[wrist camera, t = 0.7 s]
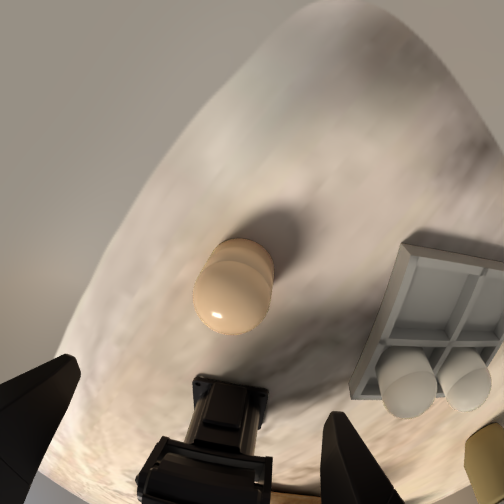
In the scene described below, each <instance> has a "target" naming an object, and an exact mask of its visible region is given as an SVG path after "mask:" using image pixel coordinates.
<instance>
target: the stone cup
mask: <svg viewBox="0 0 504 504" xmlns="http://www.w3.org/2000/svg"><path fill="white" fill-rule="evenodd" d="M270 504H321V497H315V496H306V495H297V494H288V493H279V492H271V499H270Z"/></svg>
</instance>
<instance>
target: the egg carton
mask: <svg viewBox="0 0 504 504" xmlns="http://www.w3.org/2000/svg"><path fill="white" fill-rule="evenodd" d="M503 341H504V263H503V262H498V261H493V260H488V259H483V258H478V257H473V256H468V255H463V254H458V253H453V252H447V251H442V250H436V249H431V248H425V247H420V246H414V245H408V244H403V243H401V245H400V248H399V252H398V255H397V258H396V262H395V265H394V268H393V271H392V275H391V278H390V281H389V284H388V287H387V290H386V293H385V296H384V298H383V301H382V304H381V307H380V310H379V312H378V315H377V318H376V320H375V323H374V325H373V328H372V331H371V333H370V336H369V338H368V340H367V343H366V345H365V348H364V350H363V352H362V355H361V357H360V359H359V362H358V364H357V366H356V368H355V371H354V373H353V375H352V377H351V379H350V381H349V390H350V397H351V400H382V397H381V393H380V388H379V384H378V380H377V376H376V372H375V366H376V364H377V362H378V360H379V358H380V356H381V354H382V353H383V352H384V351H385V350H386V349H388V348H389V347H391V346H417V347H422V348H423V350H424V353H425V355H426V357H427V359H428V361H429V364H430V366H431V368H432V371H433V373H434V375H435V378H436V381H437V394H436V397H435V398H438V397H445V395H444V392H443V390H442V387H441V385H440V382H439V380H438V378H437V375H436V374H437V372H438V371H439V369H440V367H441V366H442V364H443V362H444V361H445V359H446V357H447V356H448V354H449V352H450V350H451V349H452V348H453V347H475V348H476V350H477V352H478V353H479V355H480V357H481V358H482V360H483V362H484V363H485V365H486V367H488V365H489V364H490V362H491V361H492V359H493V357H494V356H495V354H496V353H497V351H498V349H499V348H500V346H501V344H502V343H503Z"/></svg>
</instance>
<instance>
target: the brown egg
mask: <svg viewBox="0 0 504 504" xmlns="http://www.w3.org/2000/svg"><path fill="white" fill-rule="evenodd" d="M273 278H274V264H273V261H272V258H271V256H270V255H269V253H268V252H267V251H266V250H265V249H264V248H263V247H262V246H261V245H259V244H258V243H256V242H254V241H251V240H248V239H241V238H236V239H230V240H227V241H225V242H222V243H221V244H219V245H218V246H217V247H216V248H215V249H214V250H213V252H212V254H211V255H210V257H209V259H208V260H207V262H206V264H205V265H204V267H203V269H202V271H201V272H200V274H199V276H198V277H197V279H196V282H195V284H194V289H193V304H194V307H195V310H196V313H197V315H198V316H199V318H200V319H201V321H202V322H203V323H204V324H205V325H206V326H207V327H209V328H210V329H212V330H214V331H216V332H218V333H221V334H225V335H239V334H243V333H246V332H248V331H251V330H252V329H254V328H255V327H257V326H258V325H259V324H260V323H261V322H262V320H263V319H264V318H265V316H266V314H267V312H268V310H269V307H270V302H271V295H272V287H273Z"/></svg>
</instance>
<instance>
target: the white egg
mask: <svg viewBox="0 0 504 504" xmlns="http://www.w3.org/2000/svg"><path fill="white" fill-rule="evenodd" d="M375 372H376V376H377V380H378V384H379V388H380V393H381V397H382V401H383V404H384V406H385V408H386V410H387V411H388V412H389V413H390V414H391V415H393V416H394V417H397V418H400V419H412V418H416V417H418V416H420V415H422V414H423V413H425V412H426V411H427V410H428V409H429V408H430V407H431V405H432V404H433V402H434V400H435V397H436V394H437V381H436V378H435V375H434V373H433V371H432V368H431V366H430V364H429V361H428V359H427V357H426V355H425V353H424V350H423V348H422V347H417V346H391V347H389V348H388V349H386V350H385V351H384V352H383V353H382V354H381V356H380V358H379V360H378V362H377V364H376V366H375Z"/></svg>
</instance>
